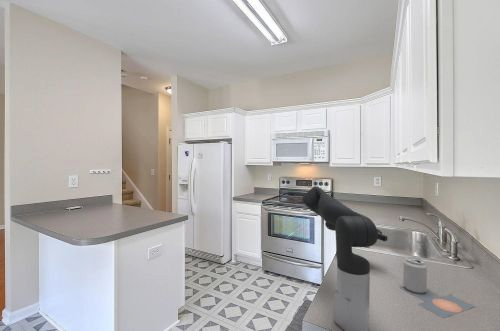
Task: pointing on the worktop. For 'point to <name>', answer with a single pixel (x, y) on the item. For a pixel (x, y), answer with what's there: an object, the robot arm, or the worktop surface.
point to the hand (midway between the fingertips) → (386, 238)
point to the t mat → (441, 303)
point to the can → (415, 275)
